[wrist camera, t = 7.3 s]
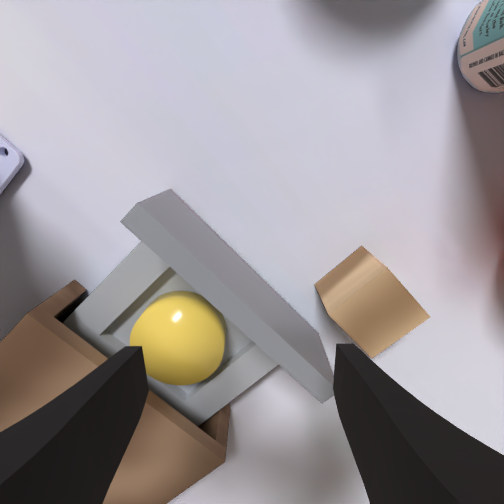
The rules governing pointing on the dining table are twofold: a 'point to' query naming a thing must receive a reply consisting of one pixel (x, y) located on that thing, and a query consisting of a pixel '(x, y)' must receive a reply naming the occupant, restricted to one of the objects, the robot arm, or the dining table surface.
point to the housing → (150, 424)
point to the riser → (369, 302)
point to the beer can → (483, 47)
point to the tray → (212, 289)
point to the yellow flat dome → (180, 338)
